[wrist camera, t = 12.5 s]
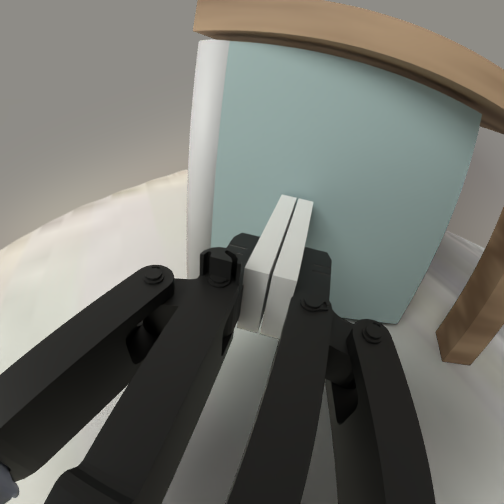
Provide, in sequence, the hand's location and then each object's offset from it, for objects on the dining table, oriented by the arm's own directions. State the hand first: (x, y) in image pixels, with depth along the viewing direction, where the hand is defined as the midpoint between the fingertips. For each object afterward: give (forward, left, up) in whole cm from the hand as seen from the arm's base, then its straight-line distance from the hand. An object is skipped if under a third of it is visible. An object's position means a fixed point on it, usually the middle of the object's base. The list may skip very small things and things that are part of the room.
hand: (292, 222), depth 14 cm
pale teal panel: (-2, 0, -6) cm, 7 cm away
